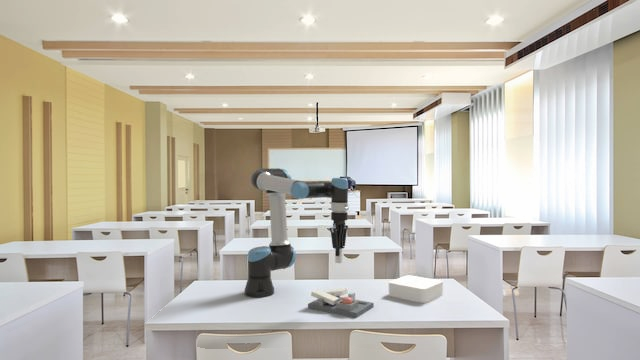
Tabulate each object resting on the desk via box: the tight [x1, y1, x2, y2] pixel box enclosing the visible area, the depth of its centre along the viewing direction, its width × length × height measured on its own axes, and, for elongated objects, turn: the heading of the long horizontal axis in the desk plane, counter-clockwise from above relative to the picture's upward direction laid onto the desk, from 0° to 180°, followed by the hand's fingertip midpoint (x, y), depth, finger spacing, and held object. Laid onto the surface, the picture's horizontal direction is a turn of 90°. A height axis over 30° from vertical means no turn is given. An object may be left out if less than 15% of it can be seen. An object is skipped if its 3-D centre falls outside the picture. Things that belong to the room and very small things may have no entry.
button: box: [342, 296, 352, 304], centre depth 189 cm, size 5×5×4 cm
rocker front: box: [310, 288, 339, 305], centre depth 195 cm, size 12×5×2 cm, turn 58°
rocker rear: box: [322, 288, 349, 297], centre depth 201 cm, size 12×5×2 cm, turn 58°
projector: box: [388, 274, 444, 304], centre depth 216 cm, size 21×22×7 cm
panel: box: [307, 294, 375, 319], centre depth 195 cm, size 25×17×5 cm
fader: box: [347, 292, 356, 300], centre depth 198 cm, size 2×3×3 cm, turn 148°
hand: (338, 262), depth 195 cm, fingers closed
